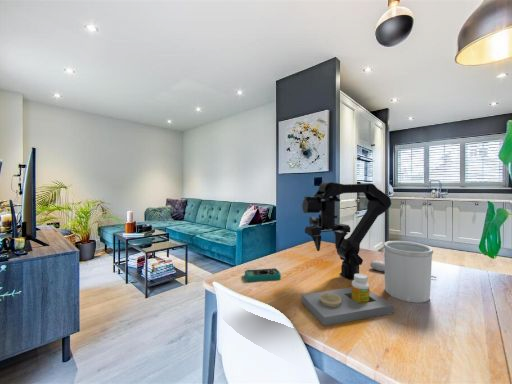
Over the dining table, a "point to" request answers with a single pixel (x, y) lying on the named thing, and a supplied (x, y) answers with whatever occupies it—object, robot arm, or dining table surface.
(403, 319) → the dining table surface
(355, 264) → the robot arm
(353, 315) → the plate
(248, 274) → the digital multimeter
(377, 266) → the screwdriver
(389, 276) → the utensil holder
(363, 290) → the supplement bottle
